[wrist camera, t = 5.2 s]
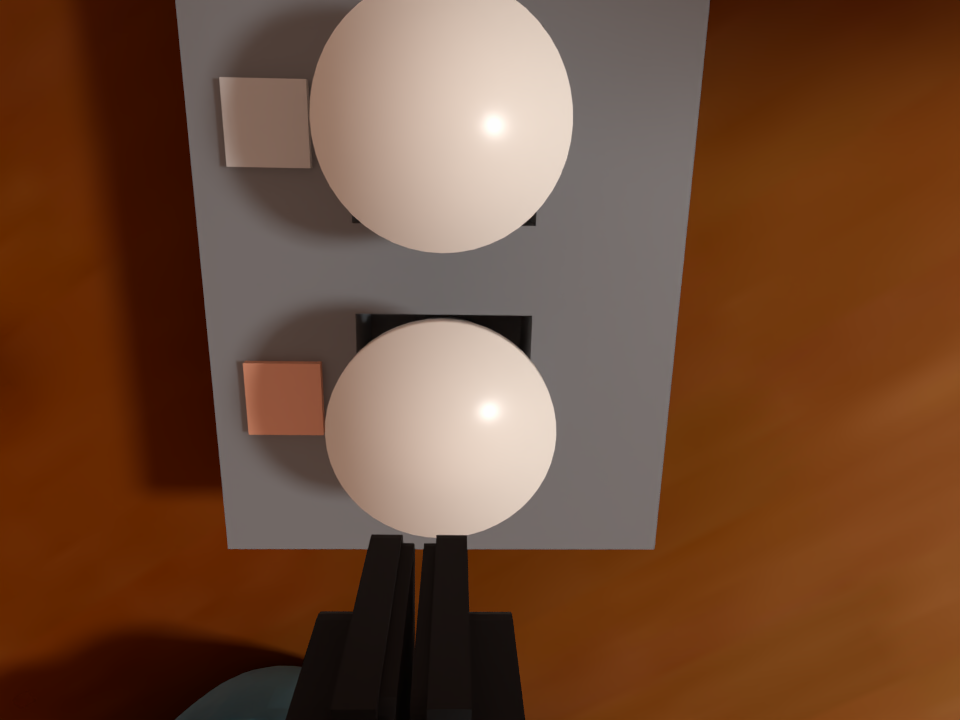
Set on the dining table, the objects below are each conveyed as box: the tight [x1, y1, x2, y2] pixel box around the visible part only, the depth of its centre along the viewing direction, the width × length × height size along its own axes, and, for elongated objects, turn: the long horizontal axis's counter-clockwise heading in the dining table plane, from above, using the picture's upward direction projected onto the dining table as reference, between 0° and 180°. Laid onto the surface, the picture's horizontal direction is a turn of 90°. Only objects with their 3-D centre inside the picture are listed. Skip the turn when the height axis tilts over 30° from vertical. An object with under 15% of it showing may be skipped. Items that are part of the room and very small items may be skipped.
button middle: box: [310, 0, 573, 253], centre depth 21 cm, size 7×7×5 cm
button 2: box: [325, 316, 556, 538], centre depth 23 cm, size 7×7×5 cm
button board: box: [175, 0, 710, 549], centre depth 23 cm, size 16×30×5 cm, turn 179°
